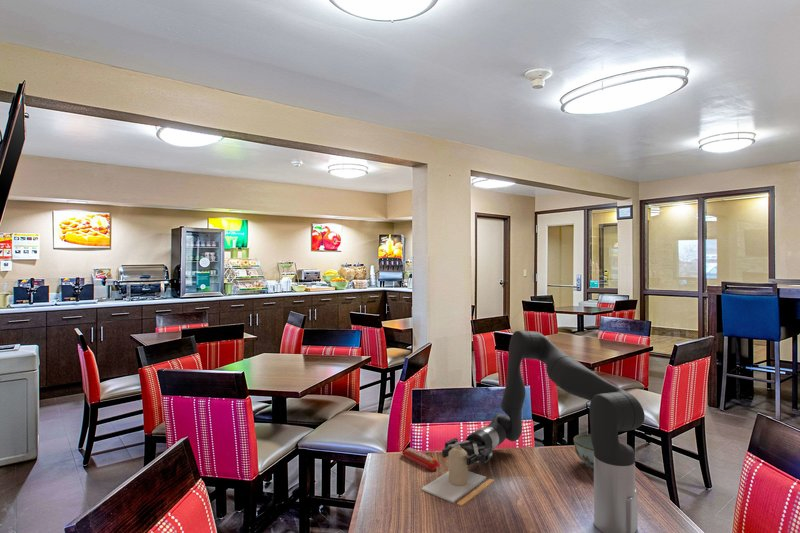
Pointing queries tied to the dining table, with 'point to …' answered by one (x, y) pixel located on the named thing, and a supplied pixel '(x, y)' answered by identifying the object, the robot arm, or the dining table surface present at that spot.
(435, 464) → the candy bar
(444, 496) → the mat
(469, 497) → the wooden stick
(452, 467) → the candle
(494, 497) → the dining table surface
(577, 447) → the bowl
